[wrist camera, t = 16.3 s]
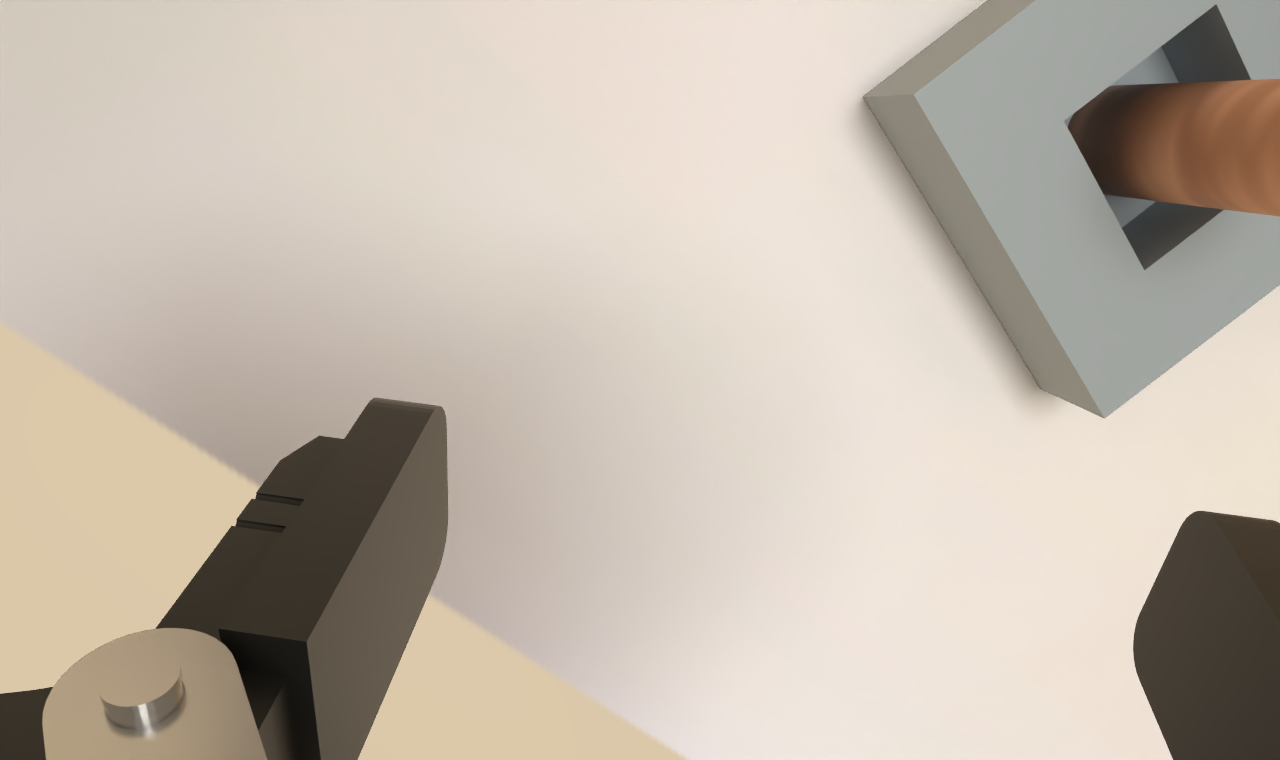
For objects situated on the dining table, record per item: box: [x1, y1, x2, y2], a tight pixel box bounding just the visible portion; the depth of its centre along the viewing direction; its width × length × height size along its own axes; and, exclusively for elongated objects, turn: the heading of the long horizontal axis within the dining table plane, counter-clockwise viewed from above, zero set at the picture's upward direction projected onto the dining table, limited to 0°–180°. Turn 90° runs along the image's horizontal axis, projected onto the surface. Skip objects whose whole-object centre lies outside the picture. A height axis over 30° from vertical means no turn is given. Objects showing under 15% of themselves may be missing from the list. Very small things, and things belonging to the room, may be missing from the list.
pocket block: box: [863, 0, 1280, 418], centre depth 31 cm, size 12×12×4 cm
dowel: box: [1068, 79, 1280, 217], centre depth 27 cm, size 3×3×10 cm
